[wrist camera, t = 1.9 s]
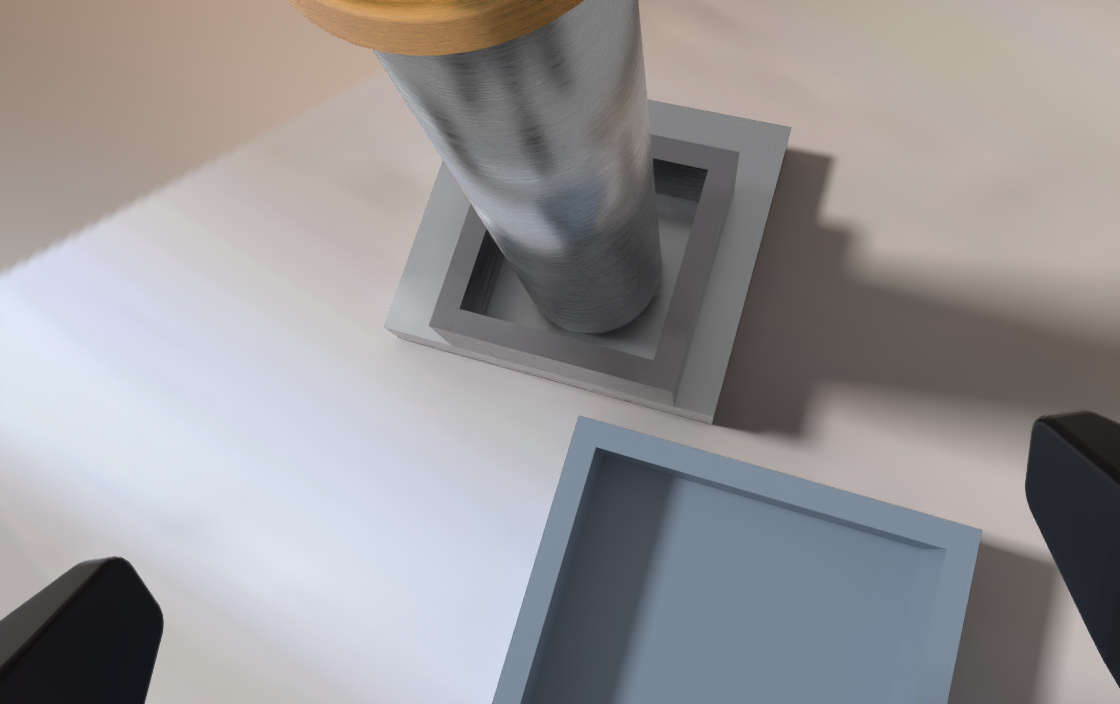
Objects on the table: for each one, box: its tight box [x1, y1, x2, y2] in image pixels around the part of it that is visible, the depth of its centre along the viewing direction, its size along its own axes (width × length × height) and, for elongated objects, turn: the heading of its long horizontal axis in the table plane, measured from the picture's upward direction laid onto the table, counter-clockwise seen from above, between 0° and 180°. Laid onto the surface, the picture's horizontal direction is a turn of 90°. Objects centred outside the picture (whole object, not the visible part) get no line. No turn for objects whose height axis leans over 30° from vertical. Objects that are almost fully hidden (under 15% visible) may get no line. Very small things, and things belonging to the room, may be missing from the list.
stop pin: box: [288, 0, 662, 334], centre depth 14 cm, size 5×5×14 cm
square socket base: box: [384, 100, 791, 424], centre depth 21 cm, size 9×8×3 cm
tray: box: [492, 416, 982, 704], centre depth 18 cm, size 9×9×2 cm
